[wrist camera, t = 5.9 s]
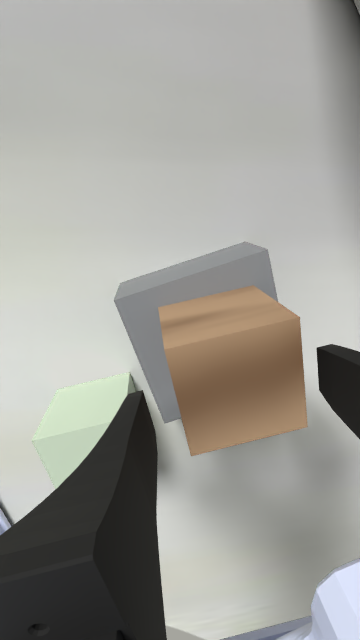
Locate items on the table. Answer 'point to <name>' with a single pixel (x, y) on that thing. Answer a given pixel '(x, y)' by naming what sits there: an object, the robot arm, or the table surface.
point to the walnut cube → (234, 367)
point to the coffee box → (357, 5)
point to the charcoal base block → (177, 286)
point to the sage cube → (78, 423)
